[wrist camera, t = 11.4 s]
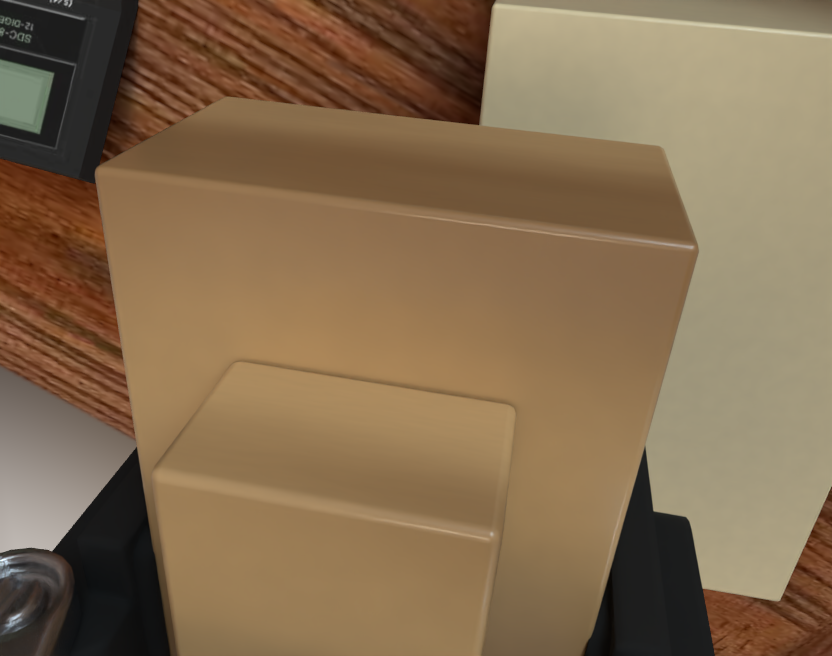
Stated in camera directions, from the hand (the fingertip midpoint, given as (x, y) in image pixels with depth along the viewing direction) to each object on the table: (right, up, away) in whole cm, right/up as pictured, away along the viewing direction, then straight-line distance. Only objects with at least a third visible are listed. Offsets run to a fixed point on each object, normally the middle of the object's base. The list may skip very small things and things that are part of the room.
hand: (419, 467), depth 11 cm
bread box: (+6, +5, +9) cm, 12 cm away
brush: (0, 0, 0) cm, 0 cm away
